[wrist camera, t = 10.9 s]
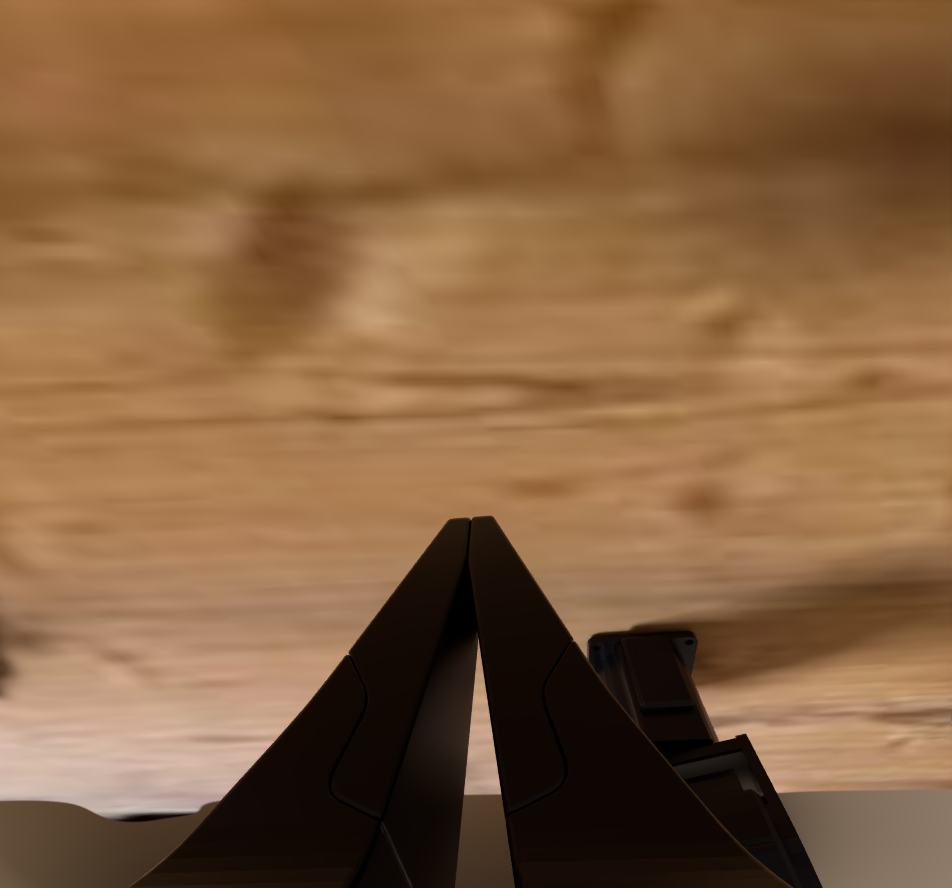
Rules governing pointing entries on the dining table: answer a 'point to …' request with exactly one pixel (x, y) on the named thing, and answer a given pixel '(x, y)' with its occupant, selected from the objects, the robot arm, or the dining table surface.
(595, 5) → the dining table surface
